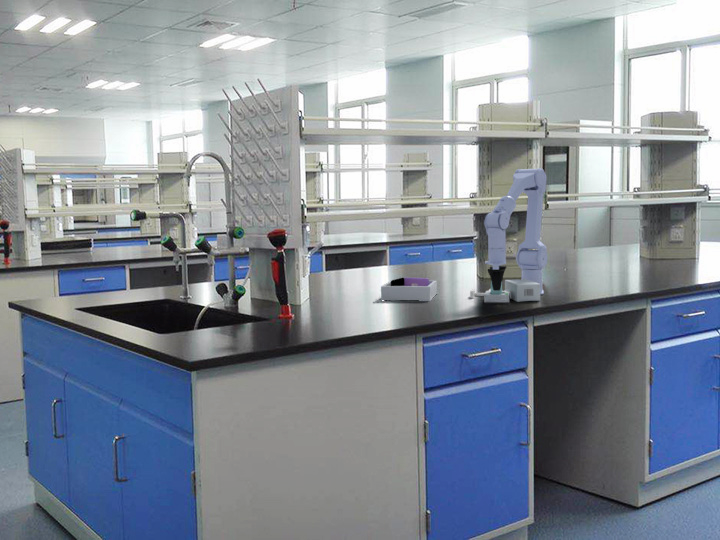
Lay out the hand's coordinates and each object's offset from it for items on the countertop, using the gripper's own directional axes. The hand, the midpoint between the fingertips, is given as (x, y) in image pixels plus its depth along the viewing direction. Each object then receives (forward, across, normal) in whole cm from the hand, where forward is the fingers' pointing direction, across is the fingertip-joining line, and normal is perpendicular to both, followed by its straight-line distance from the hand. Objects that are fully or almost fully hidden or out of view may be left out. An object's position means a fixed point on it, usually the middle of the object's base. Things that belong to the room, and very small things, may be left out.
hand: (497, 288), depth 255 cm
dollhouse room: (+5, -7, -31) cm, 32 cm away
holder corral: (+4, -7, -31) cm, 32 cm away
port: (+4, 0, 0) cm, 4 cm away
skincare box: (+1, +1, +10) cm, 10 cm away
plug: (+4, 0, 0) cm, 4 cm away
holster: (+4, -9, -6) cm, 11 cm away
